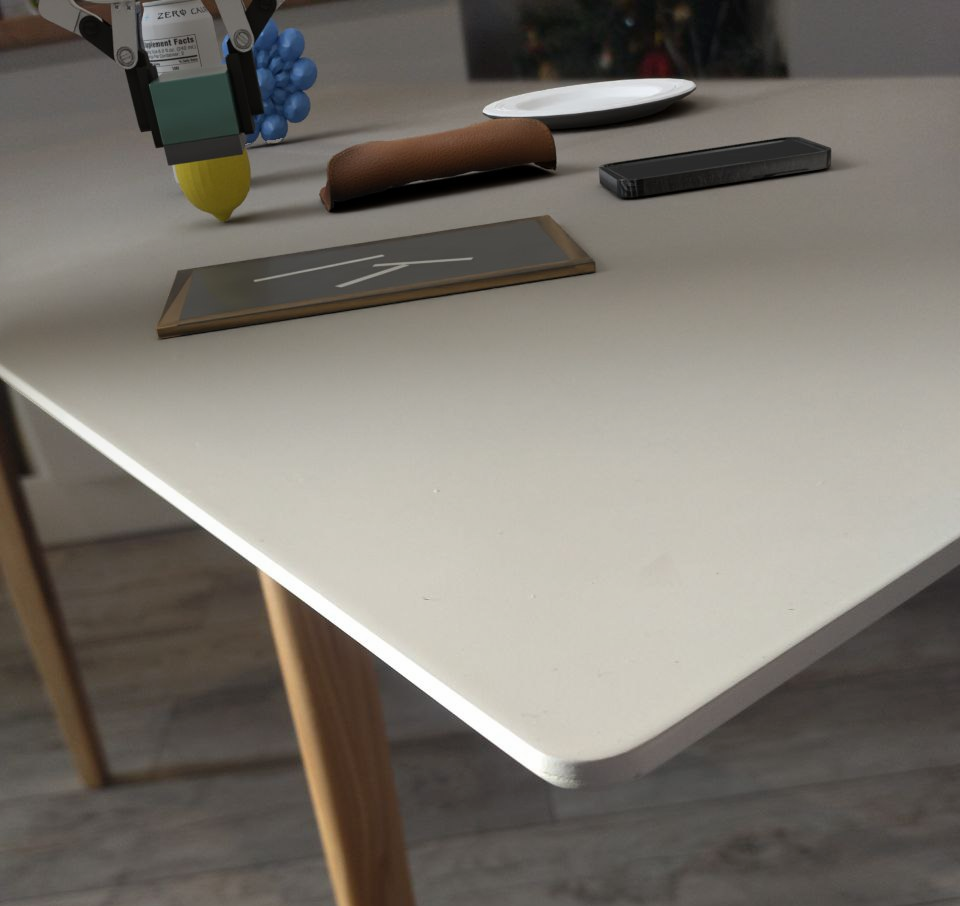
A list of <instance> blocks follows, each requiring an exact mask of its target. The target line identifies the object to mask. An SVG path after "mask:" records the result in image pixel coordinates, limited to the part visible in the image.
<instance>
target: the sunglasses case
mask: <svg viewBox="0 0 960 906" xmlns="http://www.w3.org/2000/svg"><path fill="white" fill-rule="evenodd" d="M326 164H327V165H326V177H327V178H326V183H325V186H323V187H321V189H320V190H319V194H318V196H319V198H320V201H321V202H322V204H323V206H324V205H325V206H324V207H325V209H326V211H327V212H330V211H331V209H334V208H335V202H337V203H339V202H345V201H349V200H352V199H355V198H361V197H364V196H369V195H371V194H376V193H382V192H385V191H387V190H389V189H390V188H400V187H403V186H406V185H408V184H411V183H416V182H420V181H424V182H425V181H430V180H431V181H432V180H439V179H446V178H453V177H457V176H462V175H466V174H468V173H473V172H476V173H477V172H479V173H480V172H481V173H482V172H490V171H495V170H499V169H504V168H510V167H518V166H522V165H527V164H528V165H529V164H533V165H535V166H537V167H539V168H541V169H544V170H553V171H556V170H557V164H558V158H557V148H556V142H555V137H554V135H553V133H552V132H551V129H549V128H548V127H547V126H546V125H545V124H544V123H543V122H541V121H539V120H537V119H532V118H501V119H489V120H484V121H479V122H476V123H472V124H470V125H467V126H465V127H461V128H456V129H450V130H445V131H441V132H435V133H430V134H424V135H418V136H412V137H405V138H398V139H393V140H371V141H364V142H360V143H357V144H354V145H352V146H349V147H346V148H345V149H342V150H341V151H339V152H337V153H335V154H334V155H332V156H331V158H330V159H329V160H328V162H327V163H326Z"/></svg>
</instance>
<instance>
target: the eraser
mask: <svg viewBox="0 0 960 906" xmlns="http://www.w3.org/2000/svg"><path fill="white" fill-rule="evenodd" d="M149 87H150V91H151V96H152V100H153V104H154V108H155V112H156V116H157V121H158V125H159V129H160V133H161V137H162V142H163V145H164V147H163V150H164V154H165V160H166V163H167V166H169V167H170V166H172V165H177V164H184V163H190V162H197V161H203V160H210V159H216V158H223V157H230V156H236V155H242V154H243V152H244V148H246V145H245V144H246V141H247V135H245V133H241V131H240V125H239V120H238V116H237V111H236V106H235V101H234V96H233V91H232V87H231V82H230V77H229V72H228V70H227V65H226V64H219V65H213V66H206V67H199V68H192V69H186V70H179V71H172V72H165V73H162V74H161V75H160V76H158V77H157V78H156V79H155V80H154V81H153V82H151V83H150V84H149Z"/></svg>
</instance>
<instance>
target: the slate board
mask: <svg viewBox="0 0 960 906" xmlns="http://www.w3.org/2000/svg"><path fill="white" fill-rule="evenodd" d="M596 267H597V266H596V261H595V260H594V259H593V257H591V256H590V255H589V254H588V253H587V252H586V250H585V249H584V248H583V247H581V246H580V245H579V244H578V243H577V242H576V241H575V239H573V237H571V235H570V234H568V233H567V231H565V229H564V228H562V226H560V224H559V223H558V222H556V220H555V219H554V218H553V217H552V216H551V215H550V214H545V215H537V216H531V217H525V218H524V217H523V218H518V219H510V220H505V221H504V220H503V221H498V222H490V223H484V224H478V225H471V226H464V227H457V228H451V229H445V230H438V231H431V232H423V233H417V234H412V235H404V236H397V237H392V238H391V237H390V238H385V239H377V240H371V241H364V242H357V243H351V244H344V245H338V246H331V247H325V248H319V249H318V248H317V249H312V250H304V251H297V252H292V253H284V254H279V255H272V256H265V257H258V258H252V259H246V260H239V261H231V262H225V263H218V264H212V265H205V266H199V267H191V268H186V269H178V270H177V271H176V273H175V275H174V279H173V282H172V284H171V287H170V289H169V292H168V295H167V297H166V299H165V303H164V306H163V308H162V311H161V314H160V316H159V319H158V321H157V323H156V326H155V332H156V336H157V339H158V340H160V339H168V338H174V337H175V338H176V337H180V336H186V335H194V334H199V333H200V334H201V333H206V332H213V331H219V330H220V331H221V330H226V329H233V328H240V327H245V326H252V325H258V324H265V323H271V322H278V321H286V320H291V319H292V320H293V319H297V318H304V317H305V318H306V317H311V316H317V315H318V316H319V315H323V314H330V313H337V312H343V311H350V310H351V311H352V310H357V309H362V308H370V307H376V306H382V305H389V304H395V303H401V302H402V303H403V302H410V301H417V300H422V299H429V298H434V297H435V298H436V297H442V296H449V295H454V294H462V293H468V292H474V291H481V290H486V289H493V288H500V287H507V286H513V285H519V284H526V283H532V282H538V281H544V280H552V279H559V278H565V277H572V276H578V275H584V274H590V273H592V274H593V273H596V270H597V268H596Z"/></svg>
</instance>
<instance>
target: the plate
mask: <svg viewBox="0 0 960 906" xmlns="http://www.w3.org/2000/svg"><path fill="white" fill-rule="evenodd" d="M696 90H697V85H696V84H695V82H694V81H692V80H687V79H681V78H666V77H665V78H664V77H663V78H662V77H661V78H636V79H634V78H633V79H620V80H609V81H599V82H590V83H581V84H574V85H567V86H560V87H554V88H547V89H541V90H537V91H531V92H526V93H522V94H518V95H513V96H510V97H506V98H503V99H500V100H496V101H493V102H491V103H490V104H487V105H485V106H484V107H483V110H482V115H483V116H485V117H487V118H489V119H490V120H493V119H501V118H532V119H537V120H539V121H541V122H543V123H544V124H545V125H546V126H547V127H548V128H549V130H567V129H568V130H569V129H579V128H580V129H582V128H589V127H597V126H606V125H611V124H617V123H623V122H629V121H632V120H633V121H634V120H638V119H641V118H645V117H648V116H651V115H652V116H653V115H655V114H657V113H660V112H662V111H664V110H665V109H667V108H668V107H669V106H671V105H672V104H674V103H677V102H679V101H682V99H684V98H686V97H688V96H690V95H691V94H693V92H695V91H696Z"/></svg>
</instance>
